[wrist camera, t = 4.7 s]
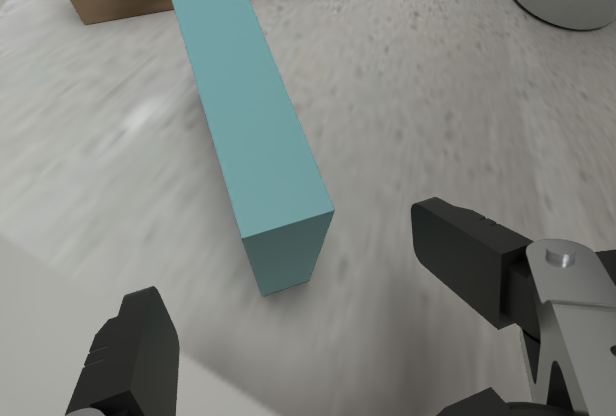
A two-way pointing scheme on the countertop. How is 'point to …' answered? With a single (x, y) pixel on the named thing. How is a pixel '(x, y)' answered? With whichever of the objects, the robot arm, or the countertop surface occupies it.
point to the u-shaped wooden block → (117, 9)
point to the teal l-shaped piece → (257, 141)
